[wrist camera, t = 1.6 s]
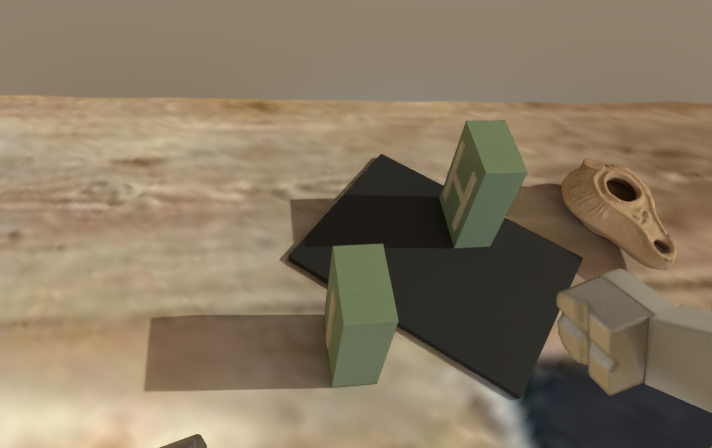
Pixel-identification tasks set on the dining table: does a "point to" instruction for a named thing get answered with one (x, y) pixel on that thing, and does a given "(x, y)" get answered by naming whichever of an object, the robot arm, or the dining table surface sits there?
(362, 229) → the word mat
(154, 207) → the dining table surface
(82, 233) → the dining table surface
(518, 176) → the letter H
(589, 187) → the pottery oil lamp
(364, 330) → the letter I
